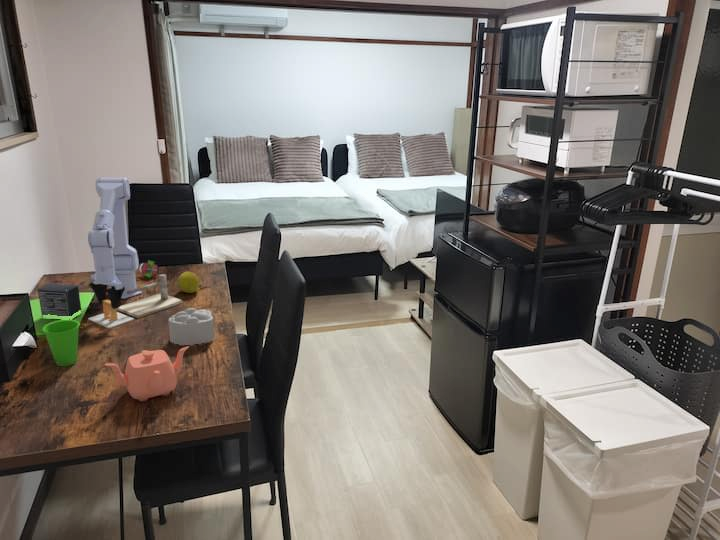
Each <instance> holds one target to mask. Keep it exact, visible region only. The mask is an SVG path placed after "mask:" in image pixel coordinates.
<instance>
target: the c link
mask: <svg viewBox="0 0 720 540" xmlns="http://www.w3.org/2000/svg"><path fill="white" fill-rule="evenodd" d="M101 304H102V310H103V313H104V318H107V319H109V318H110V320H112V321H115V320H118V318H117V312H118V310H117V308H116V309H113V308H112V305H111V301H110V299H107V298H106V300H103V301H102V303H101ZM110 313H111V314H110Z"/></svg>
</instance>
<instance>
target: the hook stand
mask: <svg viewBox="0 0 720 540" xmlns="http://www.w3.org/2000/svg"><path fill="white" fill-rule="evenodd" d="M158 280H159V281H155V282H153V283H149V284H147V285H143V286H140V287H137V288H136V289H133V290H129V291H127V294H132V293H135V292H138V291H141V292H142V291H145V290H147V289H151V288H153V287H157V286H159V291H160V293H157V294H153V295H151V296H148V297H144V298H141V299H138V300H135V301H132V302H129V303H126V304H121V305H120V307H119V308H116V310H117V311H118V312H120V313H121V312H122V313H124V314H127V315H128V316H132V317H133V318H136V319H141V318H143V317H146V316H148V315H152V314H154V313H158V312H161V311H163V310H166V309H168V308H172V307H174V306H177V305H180V304H182V303H183V299H181V298H177V297H174V296H171V295H169V294H168V283H167V274H159V275H158Z"/></svg>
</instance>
